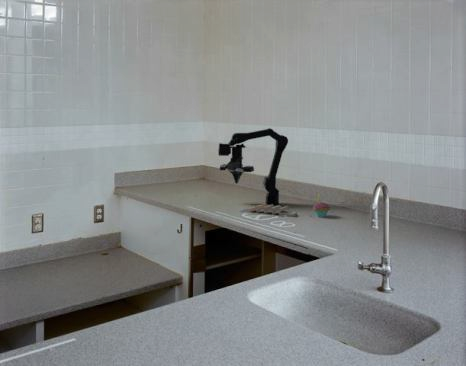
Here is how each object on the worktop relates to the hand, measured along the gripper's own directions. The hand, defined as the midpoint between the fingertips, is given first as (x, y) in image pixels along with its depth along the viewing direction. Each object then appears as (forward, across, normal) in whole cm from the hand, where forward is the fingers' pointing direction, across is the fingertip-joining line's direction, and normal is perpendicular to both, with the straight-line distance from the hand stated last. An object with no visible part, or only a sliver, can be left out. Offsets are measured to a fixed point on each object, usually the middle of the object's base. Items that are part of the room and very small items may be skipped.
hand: (236, 183), depth 311 cm
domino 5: (+11, +32, -14) cm, 37 cm away
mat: (+12, +23, -14) cm, 29 cm away
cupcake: (+12, +51, -7) cm, 53 cm away
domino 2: (+11, +19, -14) cm, 26 cm away
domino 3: (+11, +24, -14) cm, 30 cm away
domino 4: (+11, +28, -14) cm, 33 cm away
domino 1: (+11, +15, -14) cm, 23 cm away
